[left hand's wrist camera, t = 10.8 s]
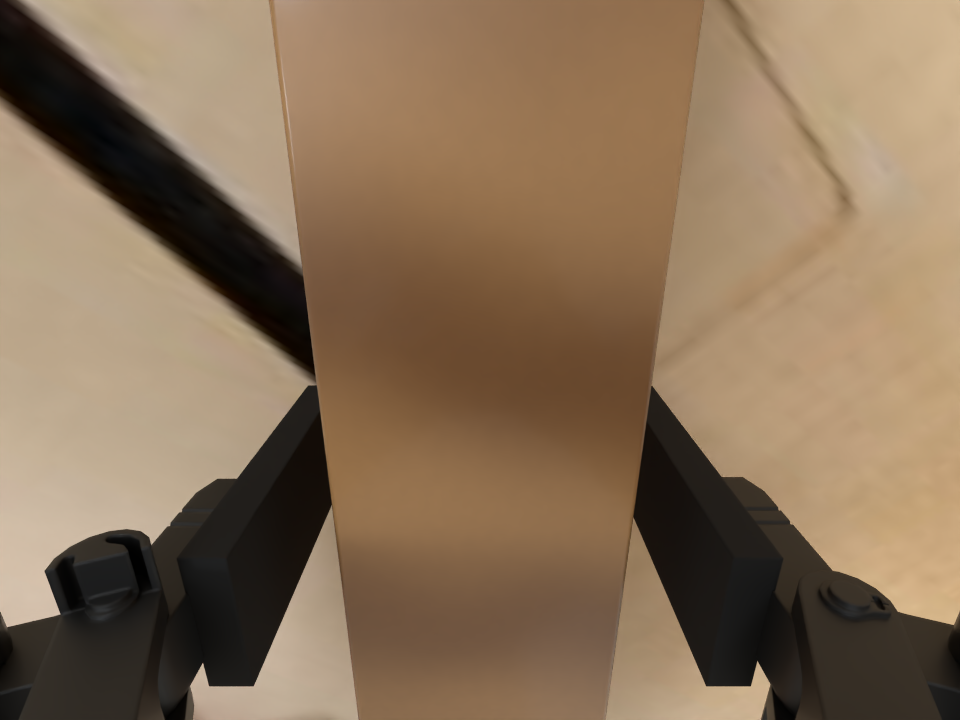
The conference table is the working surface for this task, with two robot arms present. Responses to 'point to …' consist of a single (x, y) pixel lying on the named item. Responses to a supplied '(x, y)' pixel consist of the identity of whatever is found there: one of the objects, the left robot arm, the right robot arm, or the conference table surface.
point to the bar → (484, 326)
